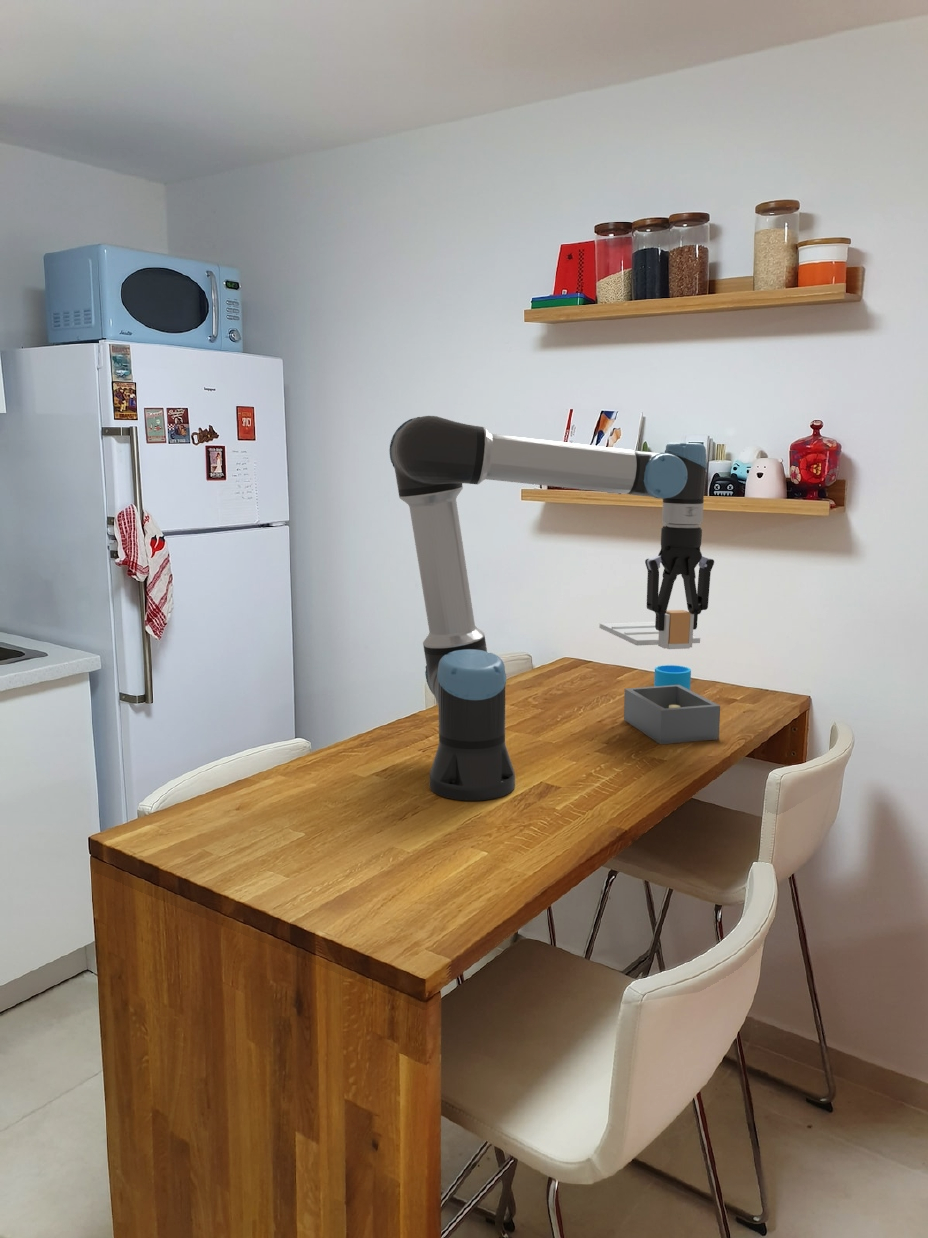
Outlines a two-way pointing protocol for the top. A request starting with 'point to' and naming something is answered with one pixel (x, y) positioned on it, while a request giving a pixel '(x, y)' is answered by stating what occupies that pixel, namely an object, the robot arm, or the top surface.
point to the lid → (655, 631)
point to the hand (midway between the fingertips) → (675, 646)
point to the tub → (671, 714)
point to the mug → (672, 676)
